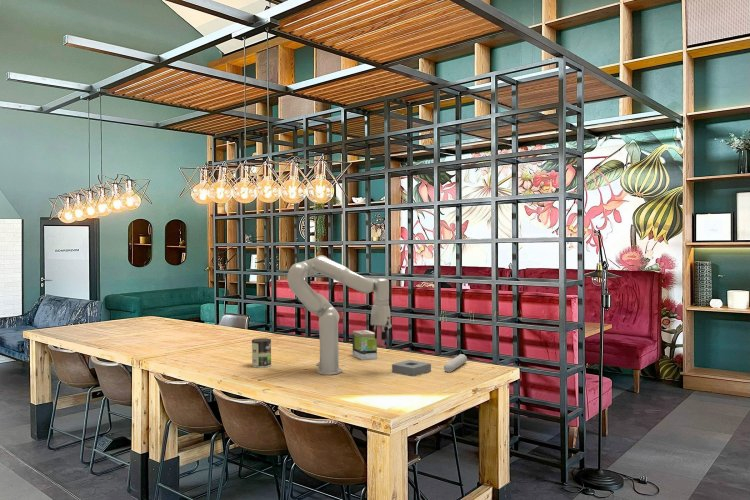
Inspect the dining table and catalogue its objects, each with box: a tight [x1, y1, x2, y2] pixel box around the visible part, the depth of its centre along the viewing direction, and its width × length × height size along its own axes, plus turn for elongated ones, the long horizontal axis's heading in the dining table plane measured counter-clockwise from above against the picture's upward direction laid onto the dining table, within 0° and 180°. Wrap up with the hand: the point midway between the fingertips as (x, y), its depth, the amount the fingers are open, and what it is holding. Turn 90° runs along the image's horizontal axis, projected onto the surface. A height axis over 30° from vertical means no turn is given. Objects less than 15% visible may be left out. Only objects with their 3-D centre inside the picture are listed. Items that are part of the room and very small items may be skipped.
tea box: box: [351, 329, 378, 361], centre depth 331 cm, size 15×10×15 cm
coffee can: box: [251, 337, 272, 369], centre depth 311 cm, size 10×10×14 cm
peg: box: [377, 325, 386, 347], centre depth 293 cm, size 4×4×12 cm
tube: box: [443, 353, 468, 373], centre depth 301 cm, size 5×5×25 cm
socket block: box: [391, 359, 432, 377], centre depth 293 cm, size 14×14×4 cm
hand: (380, 338), depth 293 cm, fingers closed on peg, 4 cm apart
